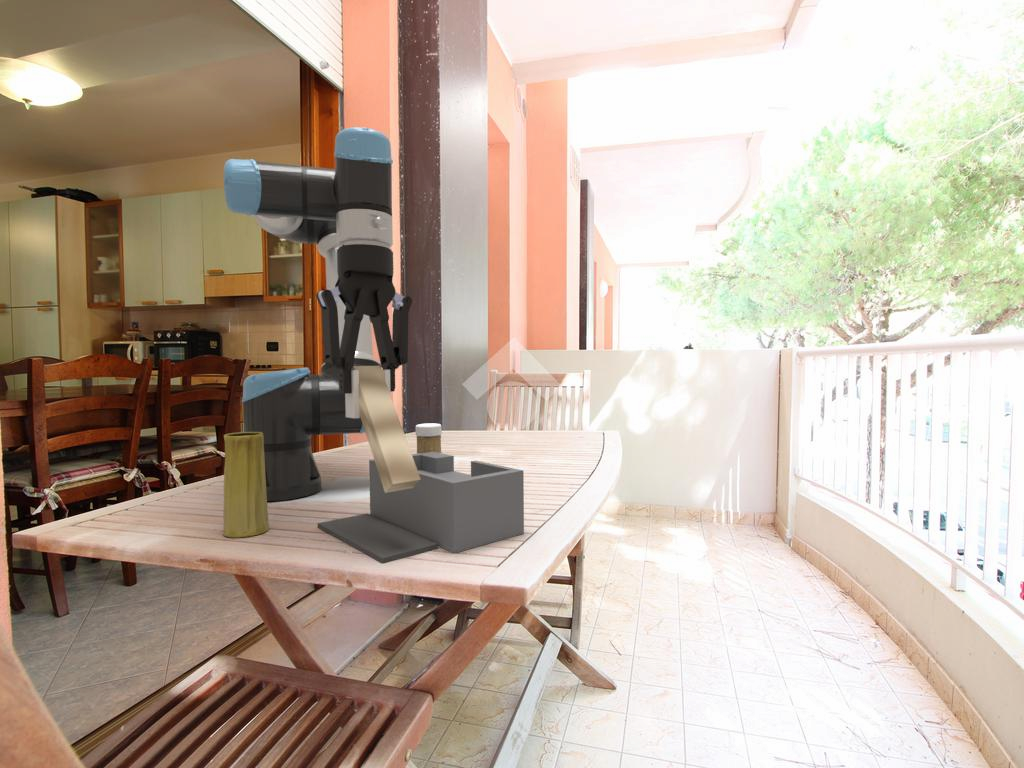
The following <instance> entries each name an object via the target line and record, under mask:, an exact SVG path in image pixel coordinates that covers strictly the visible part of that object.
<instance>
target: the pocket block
mask: <svg viewBox="0 0 1024 768" xmlns="http://www.w3.org/2000/svg"><path fill="white" fill-rule="evenodd" d="M411 454H412V453H411ZM412 457H413V459H414V462H415V465H416V468H417V471H418V473H419V476H420V479H421V480H420V481H419V482H418V483H417V484H416V485H415V486H414V487H413V488H411V489H405V490H399V491H393V492H388V493H385V491H384V488H383V485H382V482H381V479H380V476H379V473H378V470H377V466H376V463H375V460H374V459H369V460H368V461H369V463H368V466H369V469H368V471H369V473H368V475H369V511H370V512H369V514H370V515H372V516H374V517H377V518H379V519H381V520H384V521H386V522H388V523H391V524H393V525H395V526H398V527H400V528H402V529H405V530H407V531H409V532H412V533H414V534H416V535H419V536H421V537H423V538H426V539H428V540H430V541H433V542H435V543H437V544H438V548H439V547H440V548H441V549H444V550H446V551H448V552H450V553H453V554H457V553H460V552H463V551H466V550H470V549H474V548H477V547H481V546H484V545H489V544H492V543H495V542H500V541H502V540H506V539H510V538H513V537H517V536H521V535H524V534H525V514H524V513H525V509H524V507H525V503H524V502H525V501H524V496H525V493H524V490H525V489H524V487H525V486H524V483H525V481H524V470H523V469H519V468H513V467H508V466H504V465H500V464H499V465H498V464H494V463H489V462H484V461H480V460H471V461H470V474H467V473H464V472H459V471H457V470H456V471H455V458H454V457H455V455H452V454H448V453H447V454H446V453H438V452H427V453H420V454H417V453H413V454H412Z"/></svg>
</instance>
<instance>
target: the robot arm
mask: <svg viewBox="0 0 1024 768" xmlns="http://www.w3.org/2000/svg"><path fill="white" fill-rule="evenodd" d="M333 156H334V161H335V162H334V165H335V166H334V167H335V168H327V167H318V166H306V165H295V164H288V163H287V164H286V163H279V162H277V163H276V162H269V161H259V160H255V159H252V158H248V159H237V158H236V159H235V158H231V159H228V160H226V161H225V163H224V166H223V190H224V199H225V203H226V204H225V205H226V207H227V208H228V211H231V213H235V214H242V215H247V216H253V218H254V221H255V222H256V223H257V225H259V227H260V228H261V229H263V230H264V231H265V232H267V233H269V234H271V235H273V236H276V237H278V238H280V239H283V240H287V241H291V242H296V243H300V244H311V245H317V251H318V253H319V255H321V257H323V258H324V259H325V260H324V261H325V280H326V282H325V283H326V289H324V290H319V291H317V292H316V293H315V294H316V295H315V297H316V300H317V302H318V305H319V307H320V309H321V310H320V311H321V326H322V327H321V328H322V330H321V331H322V342H323V343H322V344H323V360H324V363H322V365H321V367H320V372H321V373H320V374H311V370H310V368H309V367H307V366H306V367H299V368H298V367H297V368H293V369H291V368H290V369H285V370H284V369H283V370H276V371H269V372H261V373H256V374H255V373H254V374H251V375H248V376H247V377H246V378H245V379H244V380H243V384H242V399H241V403H242V405H243V409H242V412H243V432H262V433H263V435H264V459H265V477H266V494H267V502H275V501H276V502H278V501H286V500H287V501H288V500H293V499H298V498H304V497H308V496H311V495H314V494H317V493H318V492H320V491H321V490H322V489H323V487H322V486H323V484H322V476H321V473H320V470H319V468H318V465H317V462H316V460H315V459H316V458H315V457H314V453H313V452H312V436H319V435H320V436H321V435H323V436H324V435H338V434H339V435H343V434H344V435H345V434H346V435H347V434H348V435H349V434H359V435H363V434H364V433H365V430H364V427H363V424H362V420H361V417H360V414H359V370H352V368H353V366H380V367H381V370H382V373H383V376H384V379H385V381H386V384H387V387H388V390H389V393H390V394H391V392H395V390H396V370H398V369H399V367H400V366H402V365H406V364H408V361H409V360H408V359H409V358H408V356H409V354H408V353H409V351H408V350H409V312H410V309H411V305H412V303H413V298H412V297H411V296H408V295H406V296H404V295H402V294H400V293H399V292H397V291H396V287H395V285H394V283H393V277H394V251H392V249H391V247H392V246H393V245H394V243H393V242H394V240H393V236H394V235H393V210H392V209H393V208H392V207H393V202H392V201H393V199H392V198H393V197H392V195H393V192H392V191H393V189H392V186H393V185H392V184H393V182H392V181H393V178H392V177H393V176H392V175H393V174H392V172H393V170H392V168H393V167H392V166H393V165H392V164H393V162H394V161H393V158H392V146H391V141H390V139H389V138H388V136H387V135H385V134H384V133H383V132H381V131H379V130H375V129H373V128H370V127H362V126H361V127H360V126H356V127H355V126H354V127H347V128H344V129H341V130H340V131H339V132H338V133H337V134H336V136H335V139H334V153H333ZM391 302H392V304H391ZM390 304H391V307H392V308H393V309H392V326H391V327H392V328H391V329H392V334H391V331H390V325H389V321H390V316H389V310H388V307H389V305H390ZM372 329H373V334H374V338H375V342H376V349H377V352H378V358H379V360H377V359H376V358H374V355H373V354H374V351H373V338H372V337H373V336H372ZM365 434H366V433H365Z"/></svg>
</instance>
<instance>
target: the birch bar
mask: <svg viewBox="0 0 1024 768" xmlns="http://www.w3.org/2000/svg"><path fill="white" fill-rule="evenodd" d="M352 370H359V414H360V417H361V420H362V424H363V427H364V430H365V436H366V439H367V441H368V444H369V448H370V451H371V454H372V457H373V460H375V463H376V466H377V470H378V473H379V476H380V479H381V482H382V485H383V488H384V491H385V493H388V492H393V491H399V490H405V489H411V488H413V487H414V486H415V485H416V484H417V483H418V482H419V481H420V480H421V479H420V476H419V473H418V471H417V468H416V465H415V462H414V459H413V457H412V452H411V448H410V446H409V443H408V440H407V438H406V435H405V432H404V429H403V426H402V423H401V421H400V418H399V416H398V413H397V412H398V411H397V410H396V406H395V404H394V401H393V399H392V396H391V392H390V393H389V390H388V387H387V384H386V381H385V379H384V376H383V373H382V370H383V369H382V367H380V366H353V368H352Z"/></svg>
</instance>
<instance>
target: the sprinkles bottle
mask: <svg viewBox="0 0 1024 768" xmlns="http://www.w3.org/2000/svg"><path fill="white" fill-rule="evenodd" d="M442 428H443V427H442V424H441V423H434V422H433V423H432V422H431V423H427V422H426V423H420V424H416V425H415V436H416V454H420V453H427V452H438V453H442V439H441V438H442V434H443V429H442ZM442 454H443V453H442Z"/></svg>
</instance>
